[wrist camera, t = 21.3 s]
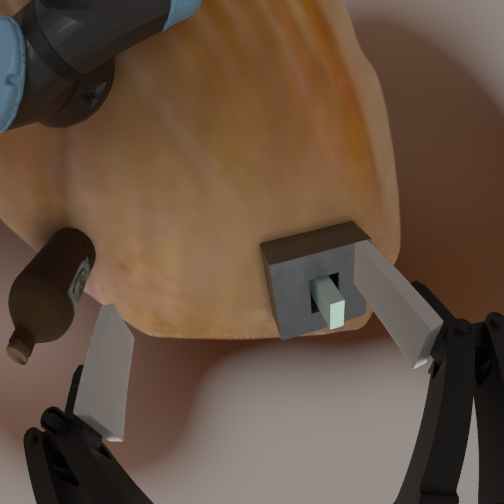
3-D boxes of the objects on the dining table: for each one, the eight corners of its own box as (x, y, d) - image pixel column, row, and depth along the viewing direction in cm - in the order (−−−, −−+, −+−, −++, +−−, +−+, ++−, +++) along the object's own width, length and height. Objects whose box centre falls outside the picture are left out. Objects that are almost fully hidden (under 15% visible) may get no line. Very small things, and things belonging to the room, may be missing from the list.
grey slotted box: (273, 316, 60) (281, 340, 54) (259, 244, 50) (269, 265, 44) (351, 293, 61) (365, 314, 55) (352, 221, 51) (371, 238, 45)
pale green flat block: (307, 288, 56) (330, 329, 46) (305, 263, 53) (330, 304, 43) (319, 284, 56) (343, 325, 46) (318, 260, 53) (344, 300, 43)
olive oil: (47, 264, 44) (-10, 363, 23) (52, 216, 40) (-24, 309, 19) (94, 282, 48) (55, 393, 27) (104, 236, 44) (51, 346, 23)
